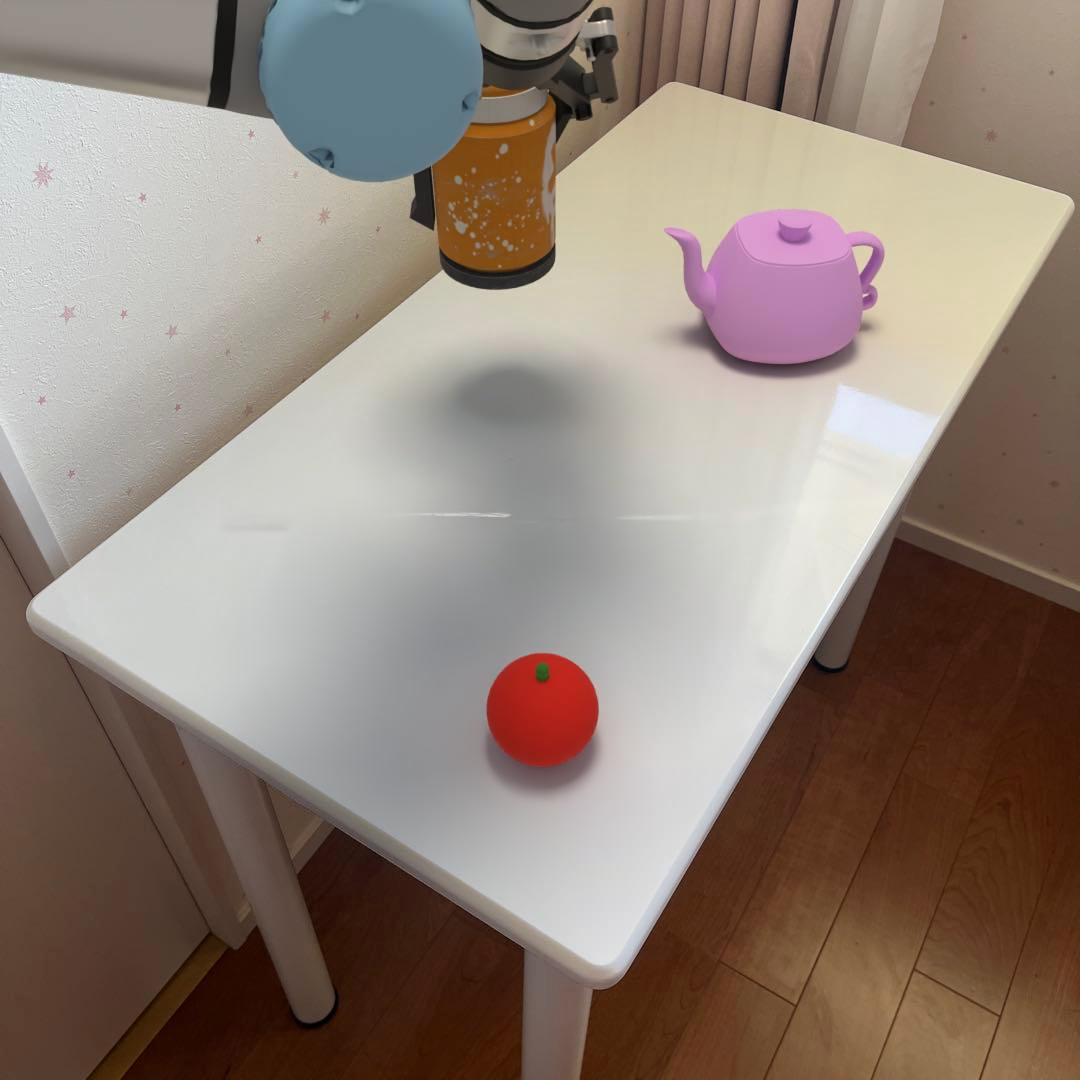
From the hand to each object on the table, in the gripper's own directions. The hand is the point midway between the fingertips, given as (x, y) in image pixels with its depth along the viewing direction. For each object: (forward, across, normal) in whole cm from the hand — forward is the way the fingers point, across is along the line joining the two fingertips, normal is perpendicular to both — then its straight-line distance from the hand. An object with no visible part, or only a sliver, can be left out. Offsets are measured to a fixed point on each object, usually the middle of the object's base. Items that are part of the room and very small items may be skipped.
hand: (473, 136), depth 81 cm
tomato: (-12, -4, -42) cm, 44 cm away
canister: (+5, 0, -9) cm, 10 cm away
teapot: (+15, +26, -16) cm, 34 cm away
